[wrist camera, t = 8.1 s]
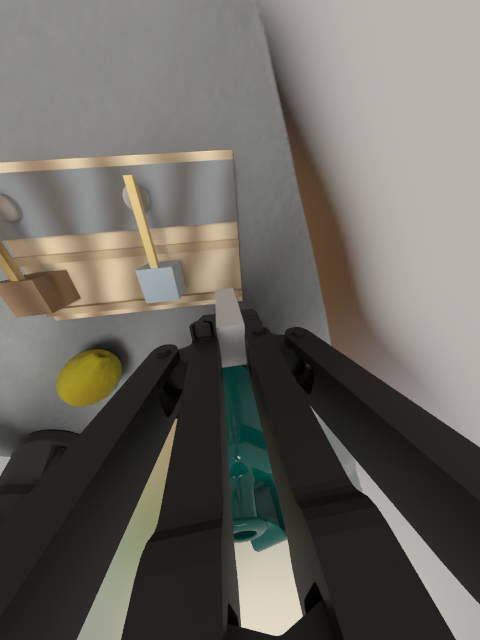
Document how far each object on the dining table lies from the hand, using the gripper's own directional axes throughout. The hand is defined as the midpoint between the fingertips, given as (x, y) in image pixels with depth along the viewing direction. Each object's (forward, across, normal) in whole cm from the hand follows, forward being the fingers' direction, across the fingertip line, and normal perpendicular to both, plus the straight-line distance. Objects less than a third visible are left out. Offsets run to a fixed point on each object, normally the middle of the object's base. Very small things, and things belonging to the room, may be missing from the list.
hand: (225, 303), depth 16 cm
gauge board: (+13, -11, +4) cm, 18 cm away
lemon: (+14, -22, -14) cm, 30 cm away
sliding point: (+12, -7, +5) cm, 15 cm away
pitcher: (+14, 0, -23) cm, 26 cm away
